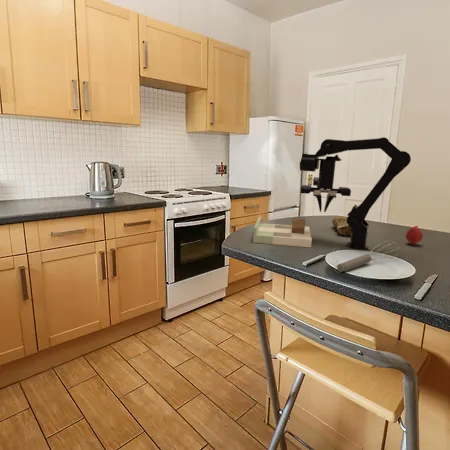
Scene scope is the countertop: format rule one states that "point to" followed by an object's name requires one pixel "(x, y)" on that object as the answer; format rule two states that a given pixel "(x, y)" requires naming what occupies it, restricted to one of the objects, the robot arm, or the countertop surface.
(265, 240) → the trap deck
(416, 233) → the onion
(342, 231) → the sponge
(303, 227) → the block
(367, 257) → the kitchen whisk
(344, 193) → the robot arm
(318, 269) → the countertop surface
